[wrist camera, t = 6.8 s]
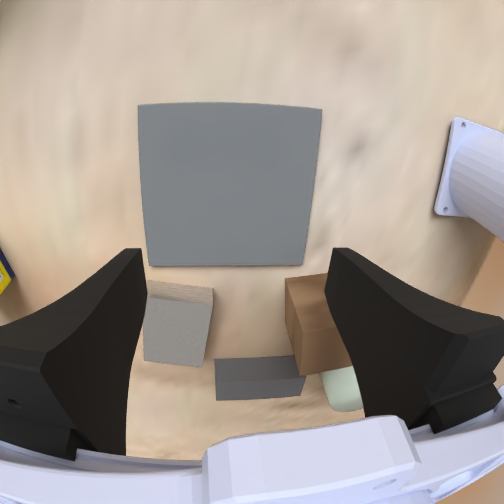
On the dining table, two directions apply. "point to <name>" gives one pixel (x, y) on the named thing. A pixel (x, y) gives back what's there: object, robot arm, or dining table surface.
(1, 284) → the supplement box
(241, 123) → the slate coaster
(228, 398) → the charcoal rubber bar
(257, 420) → the dining table surface
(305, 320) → the walnut block
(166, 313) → the grey topped wooden block
